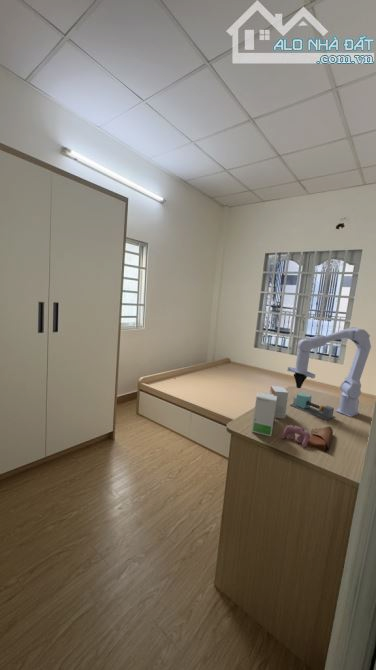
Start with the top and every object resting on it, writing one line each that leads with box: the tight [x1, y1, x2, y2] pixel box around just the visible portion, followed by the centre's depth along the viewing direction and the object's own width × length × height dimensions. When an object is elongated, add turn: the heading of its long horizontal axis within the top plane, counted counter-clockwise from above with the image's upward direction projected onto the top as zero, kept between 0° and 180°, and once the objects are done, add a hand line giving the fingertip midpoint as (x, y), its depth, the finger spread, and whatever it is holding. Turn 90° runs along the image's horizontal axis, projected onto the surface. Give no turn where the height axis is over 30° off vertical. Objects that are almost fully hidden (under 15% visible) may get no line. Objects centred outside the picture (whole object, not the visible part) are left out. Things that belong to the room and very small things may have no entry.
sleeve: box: [296, 392, 312, 409], centre depth 146 cm, size 6×5×6 cm
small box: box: [269, 385, 289, 419], centre depth 134 cm, size 8×6×13 cm
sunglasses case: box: [306, 426, 334, 453], centre depth 113 cm, size 18×7×7 cm
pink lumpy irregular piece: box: [281, 424, 311, 449], centre depth 110 cm, size 10×5×7 cm, turn 46°
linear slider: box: [292, 395, 335, 420], centre depth 142 cm, size 4×20×5 cm, turn 35°
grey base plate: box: [289, 403, 336, 421], centre depth 142 cm, size 8×20×1 cm, turn 36°
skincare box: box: [251, 391, 277, 438], centre depth 116 cm, size 8×7×16 cm
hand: (298, 387), depth 145 cm, fingers closed
